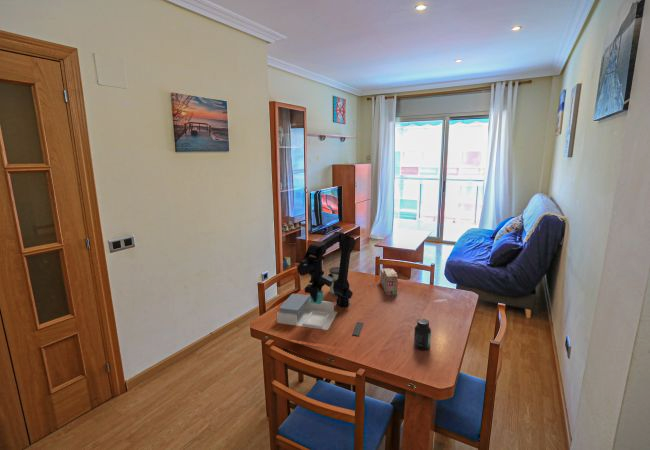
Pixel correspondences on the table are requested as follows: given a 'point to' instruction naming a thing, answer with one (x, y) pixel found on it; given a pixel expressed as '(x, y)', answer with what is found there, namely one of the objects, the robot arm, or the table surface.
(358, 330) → the rubber mat
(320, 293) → the teal block
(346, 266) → the robot arm
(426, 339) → the supplement bottle
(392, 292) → the stack of blocks
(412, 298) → the table surface
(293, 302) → the sliding cover
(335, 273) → the coffee can
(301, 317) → the open white tray
